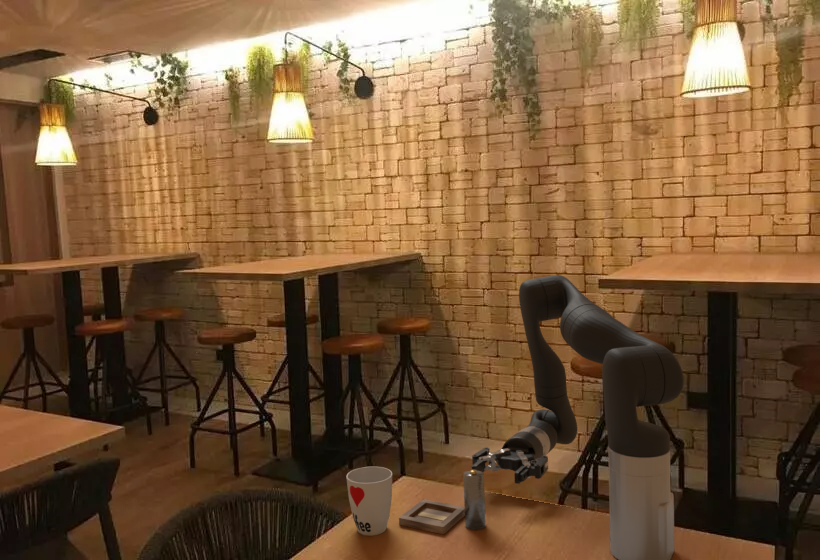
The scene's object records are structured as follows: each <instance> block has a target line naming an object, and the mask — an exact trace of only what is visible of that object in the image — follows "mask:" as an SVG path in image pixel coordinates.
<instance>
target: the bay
mask: <svg viewBox="0 0 820 560" xmlns="http://www.w3.org/2000/svg"><path fill="white" fill-rule="evenodd" d="M463 518H465V506H460V505H456V504H451V503H446V502H440V501H436V500H429V499H426V498H424V499H423V498H422V500H420V501H419V502H418V503H416V504H415V505H414V506H412V507H411V508H410V509H409V510H407V511H406V512H404V513H403V514H402V515H400V516H399V517H398V525H399V526H403V527H408V528H412V529H416V530H422V531H426V532H431V533H434V534H435V533H436V534H440V535H445V534H446V533H447V532H448V531H449V530H450V529H451V528H453V527H454V526H455V525H456V524H457V523H459V522H460V521H461V519H463Z"/></svg>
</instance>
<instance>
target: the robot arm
mask: <svg viewBox="0 0 820 560" xmlns="http://www.w3.org/2000/svg"><path fill="white" fill-rule="evenodd" d="M518 300H519V301H518V302H519V306H520V307H519V308H520V313H521V319H522V322H523V328H524V332H525V337H526V341H527V347H528V349H529V353H530V360H531V364H532V371H533V383H534V397H535V400H536V402H537V405H539V406H540V407H541V408H545V409H538V410H536V411H535V410H534V411H533V413H532V415H531V417H530V421H529V424H528V425H527V426H526V427H524V428H522V429H520V430H519V431H517V432H516V433H515V434H513V435H512V436H510V438H508V439H507V440H506V441H505V442H504V444H503V445H502V448H501V449H499V450H496V451H490V447H483V448H482V449H480V450H479V451H477V452H475V453H473V454H472V455H471V459H472V460H471V461H472V463H471V464H472V465H471V470H477V471H481V472H483V473H484V472H485V471H492V472H498V471H502V470H504V471H509V470H510V471H514V484H518V485H519V484H521V483H522V482H525V481H526V480H527V479H531V478H532V477H534V479H538V480H539V479H541V478H542V477H543V476H544V475H545V474H546V473H547V471H548V470H549V457H548V454H549V453H550V452H551V451H552V450H553V449H554V448H555V447H556V445H557V444H558V445H559V444H560V445H570V444H572V443H573V442H574V441H575V439H576V438H577V435H578V422H577V419H576V416H575V413H574V411H573V408H572V405H571V403H570V400H569V397H568V390H567V389H568V388H567V386H568V385H567V375H566V374H567V373H566V368H565V366H564V364H563V362H562V360H561V359H560V357H559V356H558V354H557V353H556V352H555V351H554V349H553V348H552V347H551V346H550V344H549V343H548V342H547V340H546V339H545V337H544V336H543V334H542V330H541V327H540V326H541V325H540V323H541V322H547V321H550V320H556V319H560V320H559V331H560V334H561V335H560V336H561V337H562V339H563V340H564V342H565V343H566V345H568V346H569V347H570V348H571V349H572V350H573V351H575V352H576V354H578V355H579V356H581V357H583V359H587V360H589V361H592V362H594V363H597V364H601V365H602V368H601V374H602V375H601V377H602V379H601V380H602V389H603V391H602V392H603V402H604V403H603V404H604V419H605V427H606V433H607V446H608V448H607V449H608V491H609V492H608V494H609V497H608V499H609V502H608V503H609V504H608V505H609V542H610V543H609V546H610V553H611V554H612V556H613V557H614V558H615V559H617V560H671V559H672V557H673V554H674V552H675V501H674V500H675V499H674V493H673V492H671V489H672V488H671V439H670V437H671V436H670V433H669V432H668V430H666V429H665V428H664V427H663V426H661V425H658V424H654V423H652V422H647V421H644V420H641V419H639V418H638V412H637V407H646V406H657V405H665V404H667V403H670V402H673V401H675V400H676V399H677V398H678V397H679V396H680V395H681V393H682V391H683V389H684V384H685V379H684V378H685V376H684V372H683V368H682V366H681V365H680V362H679V361H678V359H677V357H676V355H674V353H673V352H671V350H670V349H668V348H667V347H665V346H664V345H663V344H660V343H658V342H656V341H654V340H652V339H650V338H648V337H646V336H643V335H642V334H639V333H638V332H636V331H634V330H633V329H632V328H630V327H629V326H627V325H625V324H624V323H623V322H621V321H619V320H618V319H616V318H615V317H614V316H613V315H611V314H610V313H609V312H608V311H606V310H605V309H603V308H602V307H601V306H599V305H598V304H596V303H594V302H593V301H591V300H590V299H589V298H588V297H586V295H584V294H583V293H582V292H581V291H580V290H579V289H578V288H577V287H576V286H575V284H573V282H572V281H570V280H569V278H567V277H565V276H563V275H561V274H560V275H558V274H555V275H554V274H553V275H548V276H543V277H542V276H541V277H537V278H531V279H526V280H524V281H522V283H520V286H519V290H518ZM486 463H488V464H487V465H486ZM496 464H497V465H496Z"/></svg>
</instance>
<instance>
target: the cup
mask: <svg viewBox="0 0 820 560" xmlns="http://www.w3.org/2000/svg"><path fill="white" fill-rule="evenodd" d="M346 485H347V494H348V502H349V506H350V509H351V515H352V518H353V522H354V525H355V526H356V529H357V532H358V533H359V534H360V535H362V536H377V535H380V534H383V533H384V532H385V531H386V529H387V527H388V523H389V520H390V516H391V515H390V514H391V506H392V499H393V472H392V470H390V469H388V468H387V467H383V466H365V467H359V468H355V469H352V470H350V471H348V473H347V474H346Z"/></svg>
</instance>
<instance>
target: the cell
mask: <svg viewBox="0 0 820 560" xmlns="http://www.w3.org/2000/svg"><path fill="white" fill-rule="evenodd" d="M484 474H485V473H484V472H481V471H477V470H472V469H470V470H468V471H464V472H463V475H462V478H463V500H464V501H463V503H464V506H463V507H465V516H464V525H465V528H467V529H468V530H471V531H480V530H483V529H485V528H486V525H487V524H486V507H485V506H486V503H485V502H486V501H485V500H486V499H485V496H486V495H485V475H484Z"/></svg>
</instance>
